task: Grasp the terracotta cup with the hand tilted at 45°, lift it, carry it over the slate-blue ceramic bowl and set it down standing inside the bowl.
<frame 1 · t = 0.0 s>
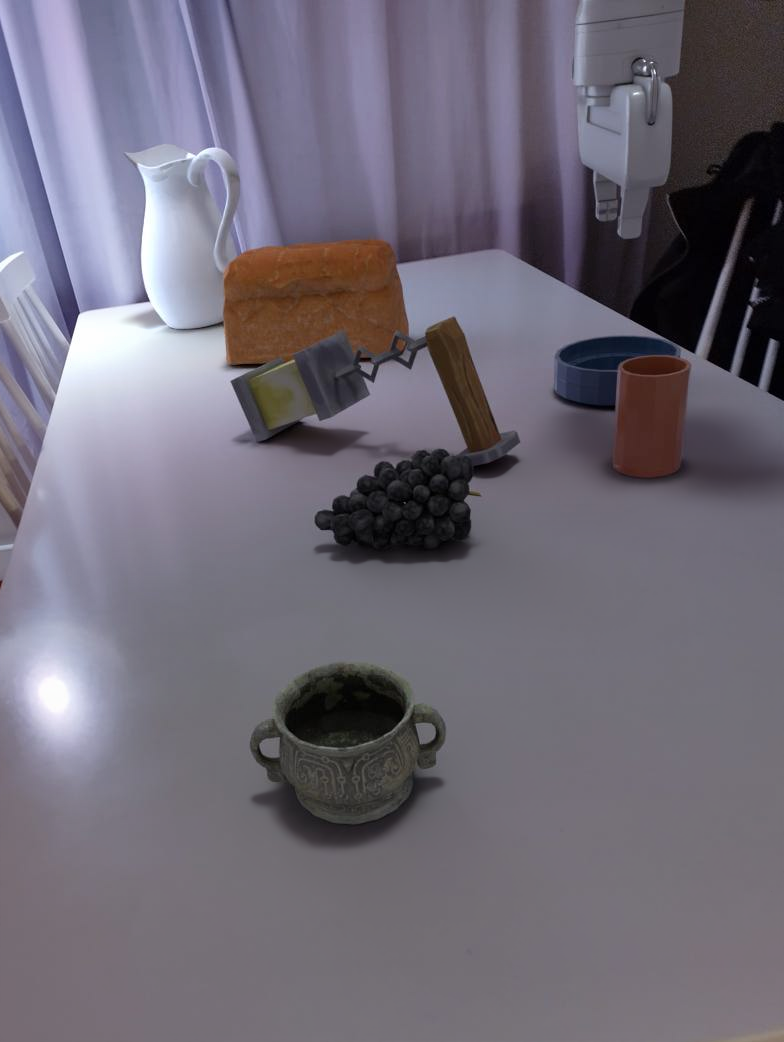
hand: (616, 228, 89), 21 cm above the table, tool pointing down, fingers open, 8 cm apart
cup: (646, 465, 94), on the table
lantern: (374, 447, 107), on the table
pitcher: (211, 324, 165), on the table
vessel: (352, 784, 59), on the table
fruit: (399, 542, 86), on the table
bread: (318, 352, 142), on the table
bowl: (614, 389, 113), on the table
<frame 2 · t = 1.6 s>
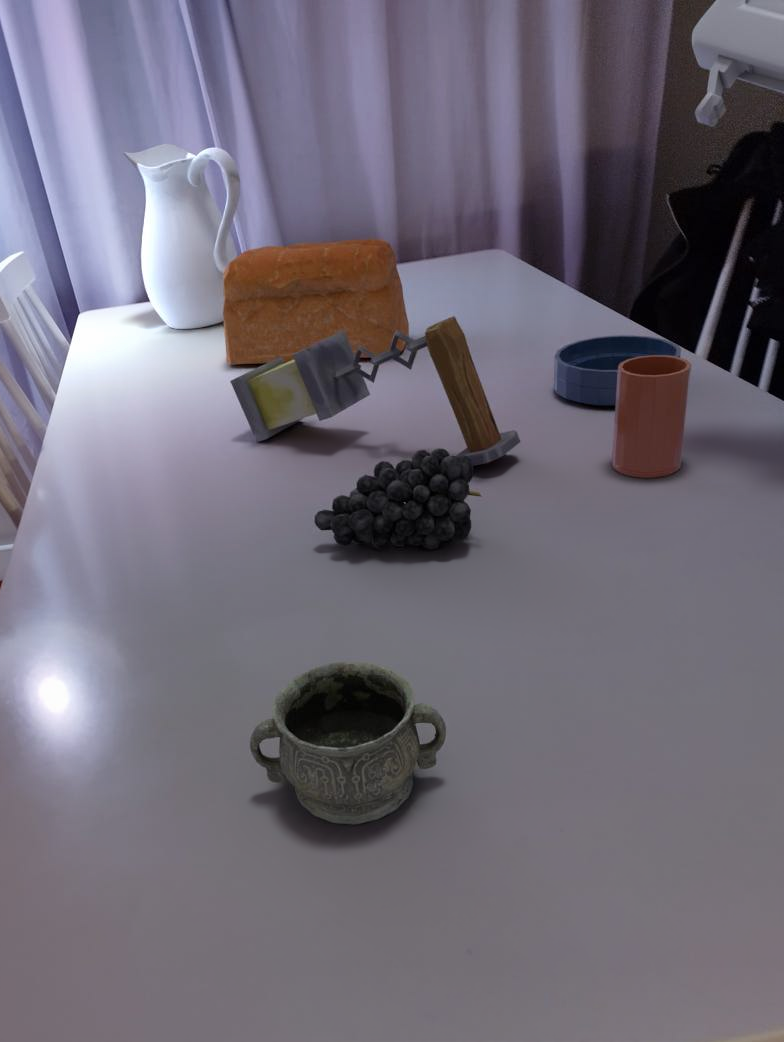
hand: (750, 137, 77), 29 cm above the table, tool tilted 45°, fingers open, 8 cm apart
nothing on the table moved.
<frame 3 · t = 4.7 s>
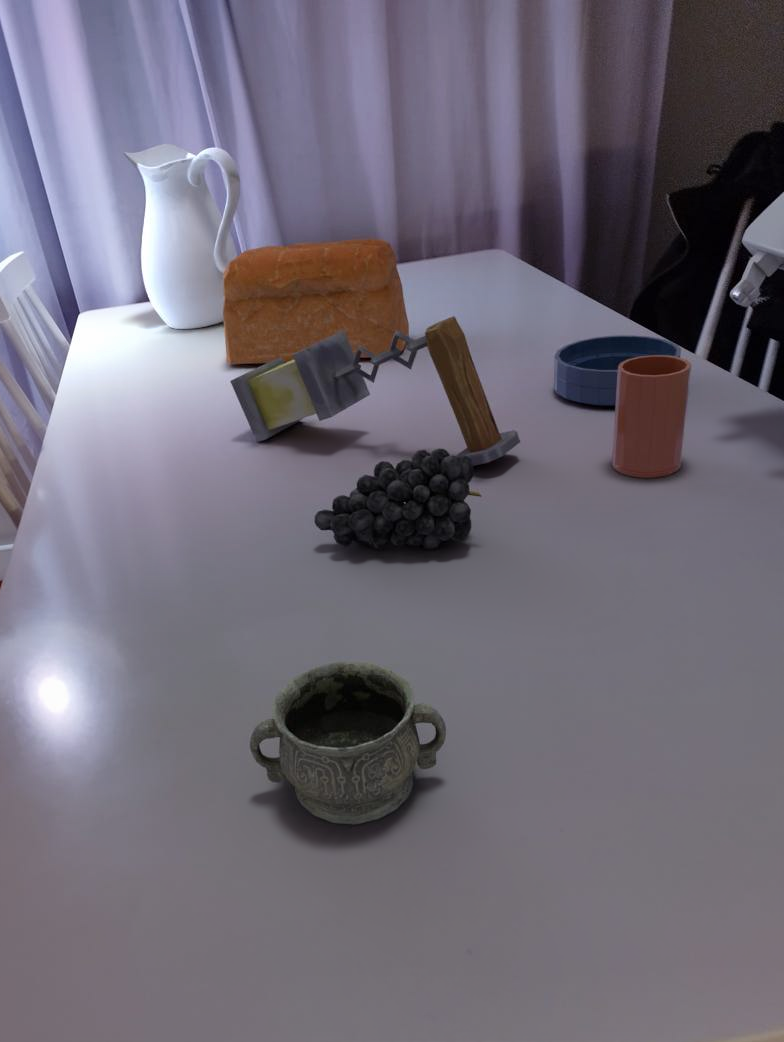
hand: (763, 313, 86), 14 cm above the table, tool tilted 45°, fingers open, 8 cm apart
nothing on the table moved.
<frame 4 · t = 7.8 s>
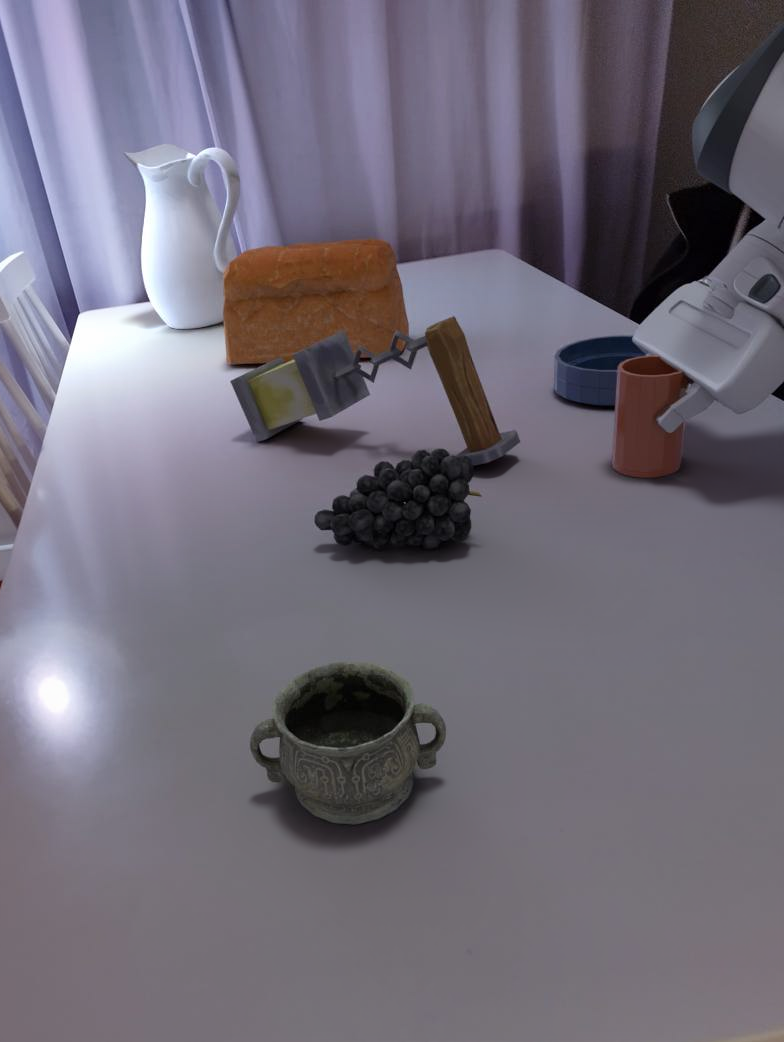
hand: (643, 413, 91), 5 cm above the table, tool tilted 45°, fingers closed on cup, 6 cm apart
cup: (645, 465, 94), on the table, touching gripper
everything else where it was.
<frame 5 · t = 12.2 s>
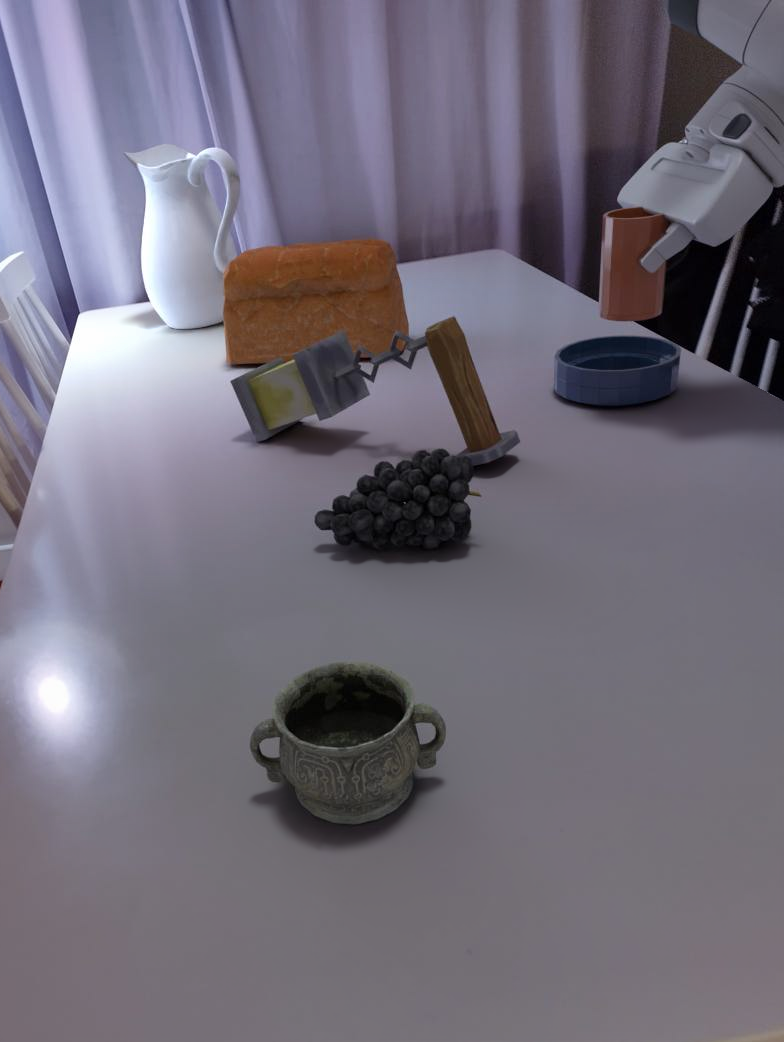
hand: (627, 261, 98), 16 cm above the table, tool tilted 45°, fingers closed on cup, 6 cm apart
cup: (630, 313, 101), point 11 cm above the table, touching gripper
everything else where it was.
when the fingers open (6 cm above the table, at t = 16.6 s): cup stays where it is, resting on bowl.
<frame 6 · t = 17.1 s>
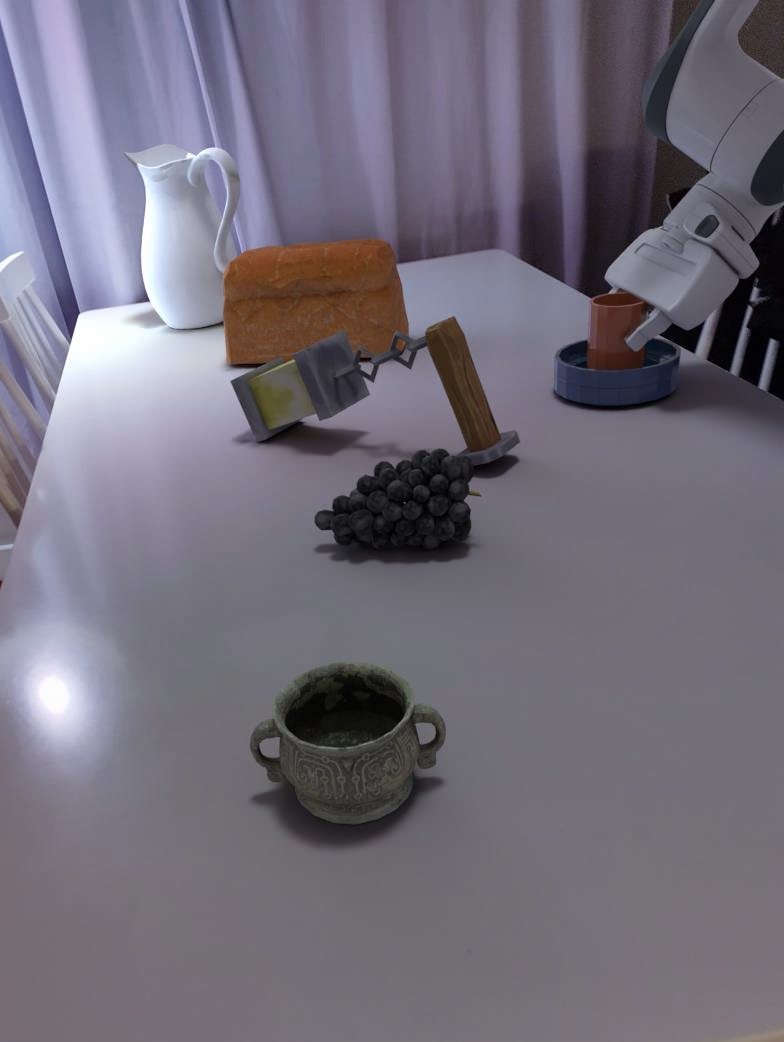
hand: (612, 336, 109), 6 cm above the table, tool tilted 45°, fingers open, 8 cm apart
cup: (614, 385, 112), point 1 cm above the table, touching bowl
everything else where it was.
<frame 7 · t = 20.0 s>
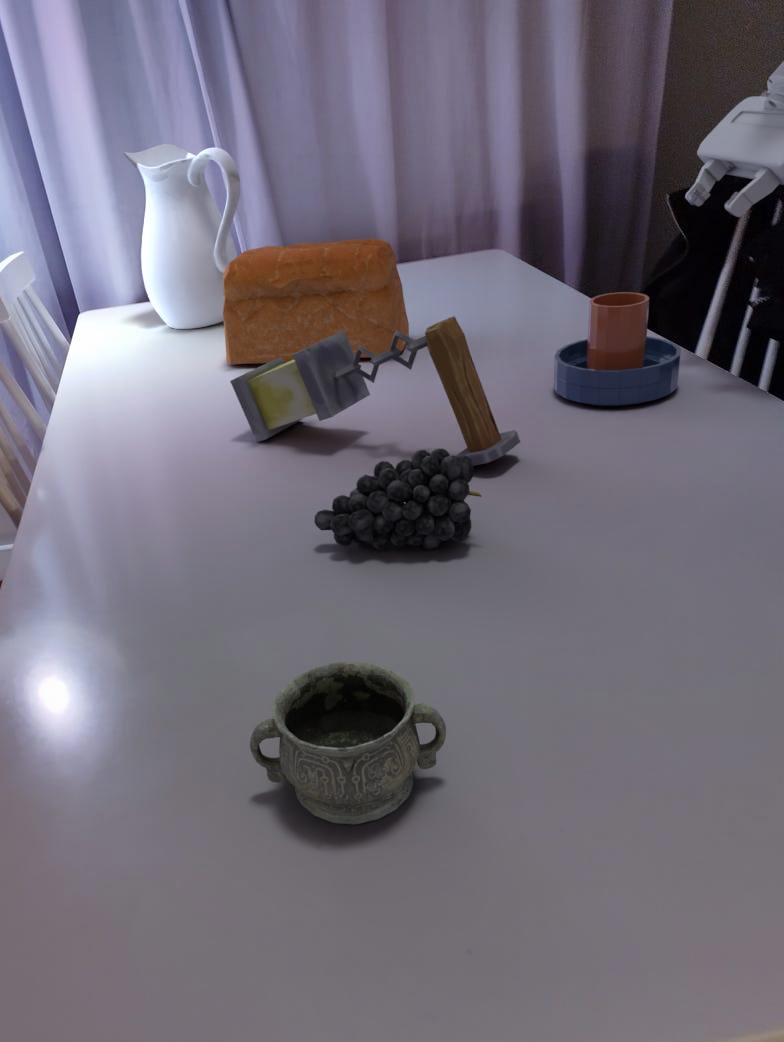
hand: (710, 207, 103), 19 cm above the table, tool tilted 45°, fingers open, 8 cm apart
nothing on the table moved.
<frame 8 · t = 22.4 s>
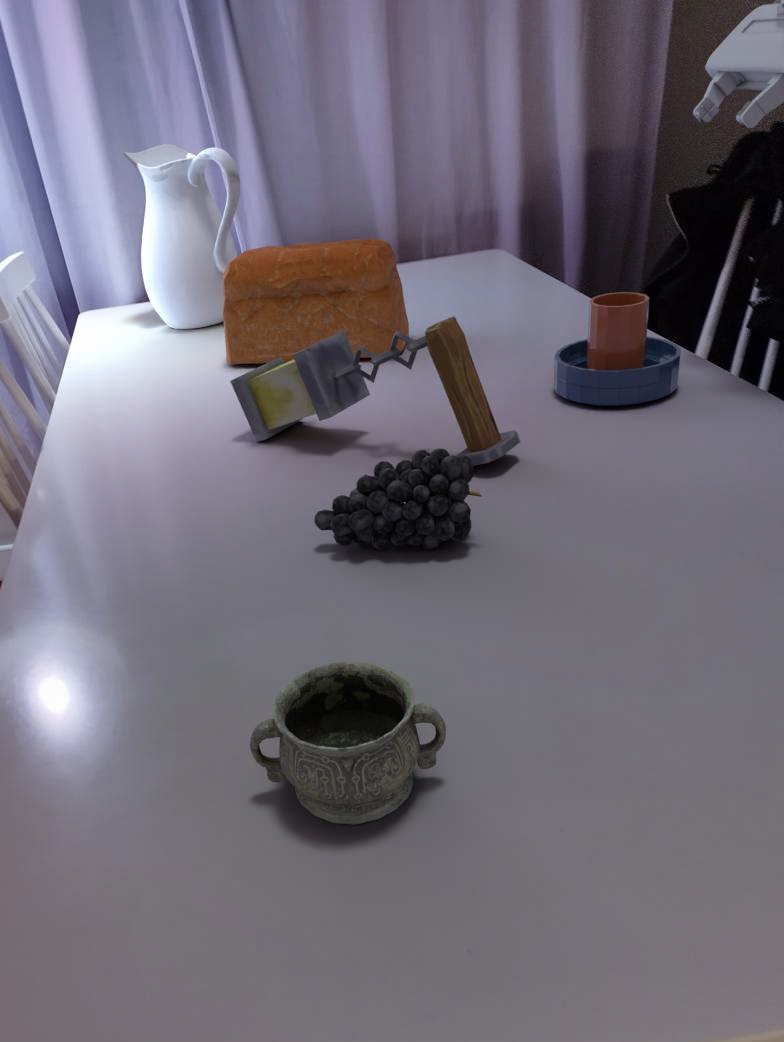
hand: (720, 121, 98), 27 cm above the table, tool tilted 45°, fingers open, 8 cm apart
nothing on the table moved.
at the end: cup 0.1 cm off-centre in the bowl, point 0.6 cm above the bowl's base; cup tilted 0°; the gripper is holding nothing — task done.
